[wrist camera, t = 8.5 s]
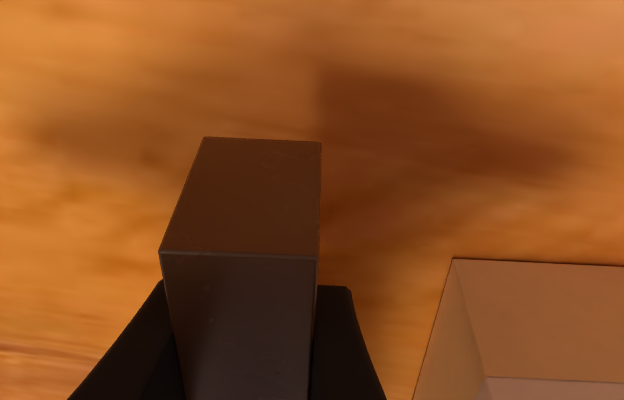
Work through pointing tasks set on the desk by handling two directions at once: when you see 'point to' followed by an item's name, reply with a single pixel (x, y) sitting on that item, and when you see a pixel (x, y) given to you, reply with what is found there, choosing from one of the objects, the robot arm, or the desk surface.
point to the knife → (245, 269)
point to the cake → (526, 333)
